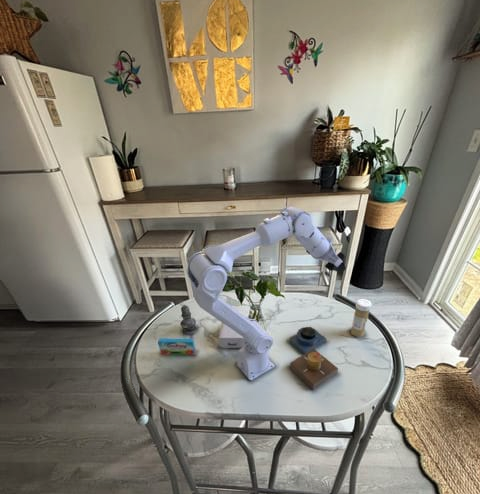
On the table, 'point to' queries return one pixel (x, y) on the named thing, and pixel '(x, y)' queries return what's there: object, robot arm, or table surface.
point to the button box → (306, 341)
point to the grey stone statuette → (187, 321)
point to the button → (308, 333)
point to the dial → (314, 361)
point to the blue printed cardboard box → (177, 346)
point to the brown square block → (313, 376)
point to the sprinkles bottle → (360, 317)
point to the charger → (230, 338)
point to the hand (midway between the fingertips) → (334, 264)
